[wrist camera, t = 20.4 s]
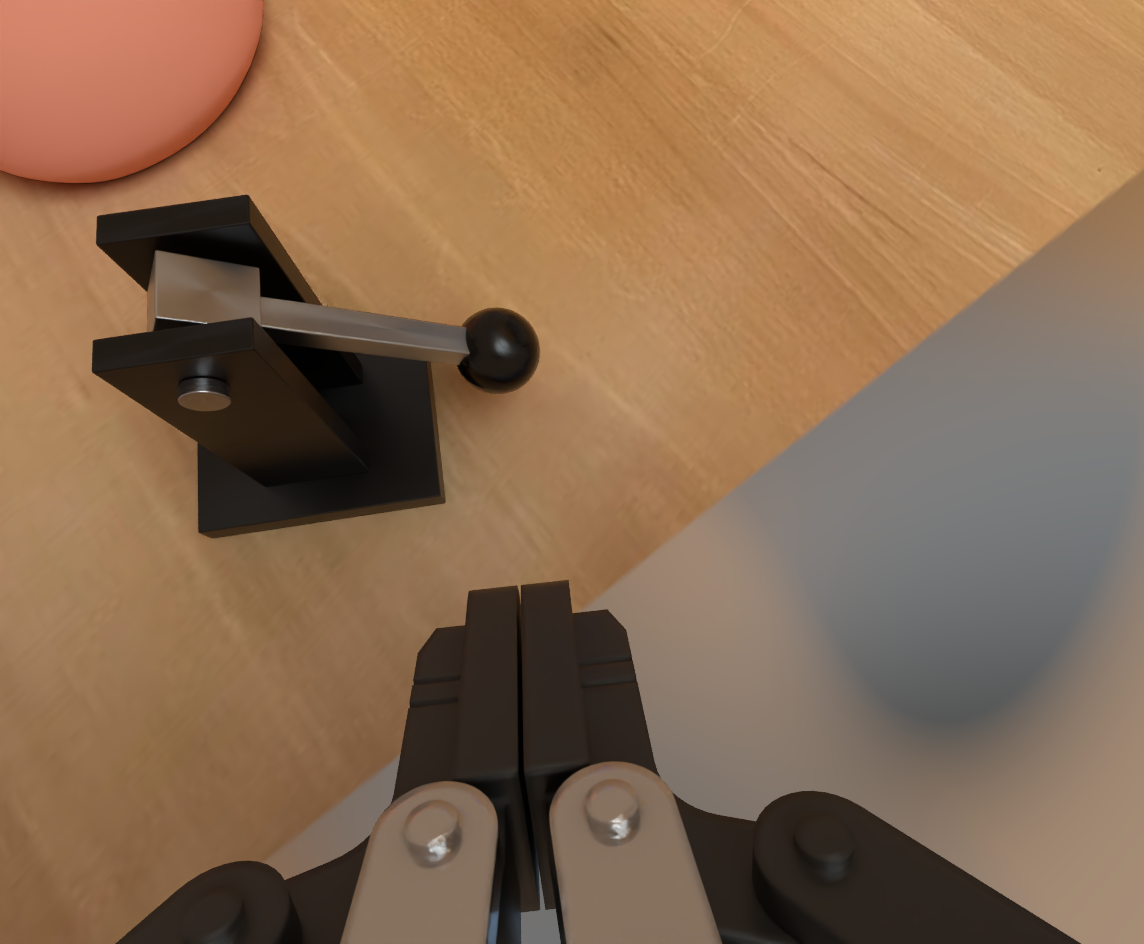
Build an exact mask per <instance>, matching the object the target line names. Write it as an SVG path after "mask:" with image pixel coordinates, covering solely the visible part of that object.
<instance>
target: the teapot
mask: <svg viewBox="0 0 1144 944" xmlns="http://www.w3.org/2000/svg"><path fill="white" fill-rule="evenodd" d="M262 22H263V0H0V170H2V171H5V172H8V173H10V174H13V175H16V176H20V177H25V178H30V179H35V180H41V181H50V182H65V183H91V182H103V181H107V180H112V179H117V178H121V177H124V176H127V175H130V174H133V173H136V172H138V171H141V170H143V169H145V168H147V167H149V166H152V165H154V164H156V163H158V162H160V161H162V160H163V159H165V158H167V157H169V156H171V155H172V154H174V153H176V152H177V151H179V150H180V149H182V148H183V147H185V146H186V145H188V144H189V143H190V142H192V141H193V140H194V139H195V138H197V137H198V136H199V135H200V134H202V133H203V132H204V131H205V130H206V129H207V128H208V127H209V126H210V125H211V124H212V123H213V122H214V121H215V120H216V119H217V118H218V117H219V116H220V114H221V113H222V112H223V111H224V110H225V108H226V107H227V106H228V105H229V103H230V102H231V100H232V99H233V97H234V95H235V94H236V92H237V91H238V89H239V87H240V85H241V83H242V82H243V80H244V78H245V76H246V73H247V71H248V69H249V68H250V65H251V62H252V60H253V57H254V54H255V51H256V48H257V45H258V42H259V38H260V34H261V28H262Z"/></svg>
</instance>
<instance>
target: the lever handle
mask: <svg viewBox="0 0 1144 944" xmlns="http://www.w3.org/2000/svg"><path fill="white" fill-rule="evenodd" d="M248 317H253V318H254V319H255V320H256V322H257V323H258V324H259V325H260V326H261V327H262V328H263V330H264V331H265V332H266V333H267V334H268V335H269V336H270V338H271V339H272V340H273V341H274V342H275V343H279V344H287V345H295V346H304V347H312V348H320V349H328V350H337V351H345V352H353V353H361V354H370V355H378V356H386V357H394V358H403V359H411V360H419V361H427V362H436V363H444V364H452V365H457V367H458V369H459V371H460V373H461V375H462V376H463V377H464V379H465V380H466V381H467V382H468V383H469V384H470V385H472V386H473V387H475V388H476V389H478V390H480V391H483V392H486V393H490V394H505V393H509V392H512V391H515V390H517V389H519V388H520V387H522V386H523V385H525V384H526V383H527V382H528V381H529V380H530V378H531V377H532V376H533V374H534V372H535V371H536V368H537V366H538V363H539V357H540V346H539V340H538V337H537V335H536V332H535V331H534V329H533V327H532V326H531V324H530V323H529V322H528V321H527V320H526V319H525V318H524V317H522V316H521V315H519V314H518V313H516V312H514V311H512V310H509V309H505V308H488V309H484V310H481V311H479V312H477V313H475V314H473V315H472V316H471V317H469V318H468V319H467V320H466V321H465V322H464V323H463V325H462V326H461V327H460V326H453V325H447V324H440V323H433V322H427V321H420V320H414V319H407V318H401V317H394V316H387V315H381V314H374V313H368V312H361V311H354V310H348V309H341V308H335V307H328V306H322V305H315V304H308V303H302V302H295V301H289V300H282V299H275V298H269V297H262V296H260V273H259V268H258V267H253V266H247V265H241V264H235V263H229V262H224V261H218V260H212V259H206V258H200V257H194V256H189V255H183V254H177V253H171V252H165V251H159V250H156V251H155V254H154V260H153V265H152V271H151V276H150V281H149V287H148V292H147V332H152V331H159V330H166V329H172V328H179V327H186V326H193V325H200V324H207V323H214V322H221V321H228V320H234V319H241V318H248Z"/></svg>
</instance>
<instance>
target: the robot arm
mask: <svg viewBox="0 0 1144 944" xmlns="http://www.w3.org/2000/svg"><path fill="white" fill-rule="evenodd" d="M413 681H414V685H412V691H411V697H410V708H408V714H407V720H406V726H405V732H404V737H403V743H402V749H401V755H400V761H399V766H398V773H397V779H396V784H395V790H394V795H393V799H392V802H391V805H390V806H389V807H388V808H387V809H386V810H385V811H384V812H383V813H382V815H381V816H380V817H379V819H378V820H377V822H376V824H375V826H374V827H373V830H372V833H371V834H370V835H369V836H368V837H367V838H366V839H365V840H364V841H363V842H362V843H360V844H359V845H358V846H357V847H355V848H354V849H353V850H351V851H349V852H348V853H346V854H344V855H343V856H341V857H339V858H337V859H334V860H332V861H330V862H328V863H326V864H323V865H321V866H318V867H316V868H314V869H311V870H309V871H306V872H304V873H301V874H299V875H296V876H295V877H292V878H289V879H287V880H284V879H283V877H282V876H281V874H280V873H279V872H277V871H276V870H275V869H274V868H272V867H271V866H269V865H267V864H264V863H260V862H255V861H238V862H232V863H228V864H224V865H221V866H218V867H215V868H212V869H210V870H208V871H206V872H204V873H202V874H200V875H198V876H197V877H195V878H194V879H192V880H190V881H189V882H187V883H186V884H185V885H184V886H182V887H181V888H180V889H178V890H177V891H176V892H175V893H174V894H172V895H171V896H170V897H169V898H168V899H167V900H166V901H164V902H163V903H162V904H161V905H160V906H159V907H157V908H156V909H155V910H154V911H153V912H152V913H150V914H149V915H148V916H147V917H146V918H145V919H144V920H142V921H141V922H140V923H139V924H138V925H137V926H135V927H134V928H133V929H132V930H131V931H130V932H128V933H127V934H126V935H125V936H124V937H123V938H122V939H120V940H119V941H118V942H117V943H116V944H521V912H529V911H537V910H540V895H539V894H540V893H539V871H540V877H541V884H542V890H543V896H544V902H545V908H546V910H548V909H556V913H557V919H558V926H559V932H560V940H561V944H1081V943H1079V942H1077V941H1076V940H1074V939H1073V938H1071V937H1069V936H1068V935H1066V934H1065V933H1063V932H1061V931H1060V930H1058V929H1057V928H1055V927H1053V926H1052V925H1050V924H1049V923H1047V922H1045V921H1044V920H1042V919H1040V918H1039V917H1037V916H1036V915H1034V914H1033V913H1031V912H1029V911H1028V910H1026V909H1025V908H1023V907H1021V906H1020V905H1018V904H1016V903H1015V902H1013V901H1012V900H1010V899H1009V898H1007V897H1005V896H1004V895H1002V894H1000V893H999V892H997V891H996V890H994V889H992V888H991V887H989V886H987V885H986V884H984V883H983V882H981V881H980V880H978V879H976V878H975V877H973V876H972V875H970V874H968V873H967V872H965V871H964V870H962V869H960V868H959V867H957V866H955V865H954V864H952V863H951V862H949V861H947V860H946V859H944V858H943V857H941V856H939V855H938V854H936V853H935V852H933V851H931V850H930V849H928V848H927V847H925V846H923V845H922V844H920V843H919V842H917V841H915V840H913V839H912V838H911V837H909V836H907V835H906V834H904V833H903V832H901V831H899V830H898V829H896V828H895V827H893V826H891V825H890V824H888V823H886V822H885V821H883V820H882V819H880V818H878V817H877V816H875V815H874V814H872V813H870V812H869V811H867V810H866V809H864V808H862V807H861V806H859V805H857V804H855V803H853V802H852V801H850V800H848V799H845V798H843V797H840V796H837V795H834V794H829V793H826V792H817V791H801V792H795V793H791V794H788V795H785V796H782V797H780V798H778V799H776V800H774V801H773V802H771V803H770V804H769V805H768V806H767V807H765V809H764V810H763V811H762V812H761V814H760V815H759V817H758V819H757V821H756V822H755V821H749V820H744V819H738V818H733V817H727V816H721V815H716V814H712V813H708V812H705V811H703V810H700V809H697V808H695V807H693V806H691V805H689V804H687V803H686V802H684V801H683V800H681V799H680V798H678V797H677V796H676V795H675V794H674V793H673V792H672V791H671V790H670V789H669V787H668V786H667V784H666V783H665V782H664V781H663V780H662V779H661V777H660V775H659V773H658V772H657V768H656V765H655V762H654V758H653V753H652V748H651V743H650V739H649V734H648V730H647V725H646V720H645V716H644V711H643V706H642V702H641V697H640V692H639V688H638V683H637V681H636V674H635V669H634V665H633V661H632V655H631V651H630V646H629V642H628V637H627V632H626V629H625V628H624V627H623V626H622V625H621V624H620V623H619V622H618V621H617V620H616V618H615V617H614V616H613V615H612V614H611V613H610V612H609V611H608V610H598V611H590V612H581V613H572V606H571V597H570V589H569V581H568V580H563V581H554V582H545V583H537V584H528V585H521V603H520V596H519V590H518V586H508V587H499V588H490V589H481V590H472V591H469V593H468V601H467V612H466V623H465V625H464V626H455V627H446V628H437V629H436V630H435V631H434V632H433V634H432V635H431V636H430V638H429V639H428V640H427V642H426V643H425V644H424V646H423V647H422V649H421V650H420V651H419V653H418V656H417V662H416V668H415V674H414V679H413Z"/></svg>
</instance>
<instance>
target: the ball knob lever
mask: <svg viewBox="0 0 1144 944" xmlns="http://www.w3.org/2000/svg"><path fill="white" fill-rule="evenodd" d="M96 244H97V246H98V247H99V248H100V249H101V250H103V251H104V252H105V253H106V254H107V255H108V256H109V257H110V258H111V259H112V260H113V261H114V262H115V263H117V264H118V265H119V266H120V267H121V268H122V269H123V270H124V271H125V272H126V273H127V274H128V275H129V276H131V277H132V278H133V279H134V280H135V281H136V282H137V283H138V284H139V285H140V286H141V287H142V288H143V289H145V290H146V291H147V292H148V287H149V281H150V276H151V271H152V265H153V260H154V254H155V251H156V250H159V251H165V252H171V253H177V254H183V255H189V256H194V257H200V258H206V259H212V260H218V261H224V262H229V263H235V264H241V265H247V266H253V267H258V268H259V273H260V296H262V297H269V298H275V299H282V300H289V301H295V302H302V303H308V304H315V305H322V304H321V303H320V301H319V300H318V298H317V297H316V295H315V294H314V292H313V291H312V289H311V288H310V286H309V285H308V283H307V282H306V280H305V279H304V277H303V276H302V274H301V273H300V271H299V270H298V268H297V267H296V265H295V264H294V262H293V261H292V259H291V258H290V256H289V255H288V253H287V252H286V250H285V249H284V247H283V246H282V244H281V243H280V241H279V240H278V238H277V237H276V235H275V234H274V232H273V231H272V229H271V228H270V226H269V225H268V223H267V222H266V220H265V219H264V217H263V216H262V215H261V213H260V212H259V210H258V209H257V207H256V206H255V204H254V203H253V201H252V200H251V198H250V197H249V195H241V196H234V197H227V198H220V199H213V200H206V201H199V202H191V203H184V204H177V205H170V206H163V207H156V208H149V209H142V210H135V211H128V212H121V213H113V214H106V215H99V216H97V231H96ZM92 372H93V373H94V374H95V375H97V376H98V377H100V378H101V379H103V380H104V381H106V382H108V383H109V384H111V385H112V386H114V387H115V388H117V389H118V390H120V391H121V392H123V393H124V394H126V395H127V396H129V397H130V398H132V399H133V400H135V401H136V402H138V403H139V404H141V405H142V406H144V407H145V408H147V409H148V410H150V411H151V412H153V413H154V414H156V415H157V416H159V417H160V418H162V419H163V420H165V421H166V422H168V423H169V424H171V425H172V426H174V427H175V428H177V429H178V430H180V431H181V432H183V433H184V434H186V435H187V436H189V437H190V438H192V439H194V440H195V441H197V442H198V529H199V533H201V534H203V535H205V536H208V537H210V538H218V537H225V536H231V535H238V534H244V533H251V532H258V531H264V530H271V529H277V528H284V527H290V526H297V525H303V524H310V523H317V522H323V521H330V520H336V519H343V518H349V517H356V516H363V515H369V514H376V513H382V512H389V511H395V510H402V509H408V508H415V507H422V506H428V505H435V504H441V503H445V502H446V501H445V492H444V482H443V473H442V464H441V455H440V445H439V436H438V427H437V418H436V408H435V399H434V390H433V381H432V372H431V362H427V361H419V360H411V359H403V358H394V357H386V356H378V355H370V354H361V353H353V352H345V351H337V350H328V349H320V348H312V347H304V346H295V345H287V344H279V343H275V342H274V341H273V340H272V339H271V338H270V336H269V335H268V334H267V333H266V332H265V331H264V330H263V328H262V327H261V326H260V325H259V324H258V323H257V322H256V320H255V319H254V318H253V317H248V318H241V319H234V320H228V321H221V322H214V323H207V324H200V325H193V326H186V327H179V328H172V329H166V330H159V331H152V332H145V333H138V334H131V335H124V336H117V337H110V338H104V339H97V340H93V352H92Z"/></svg>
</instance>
